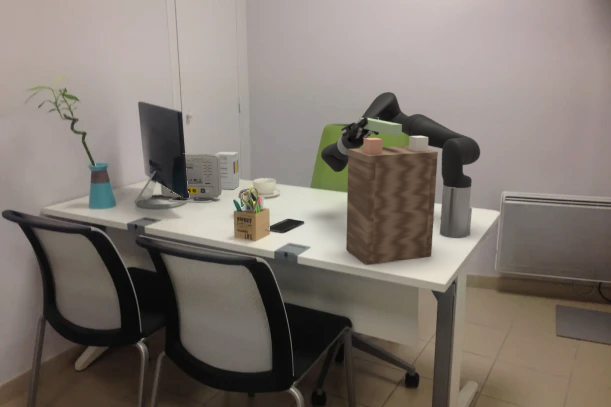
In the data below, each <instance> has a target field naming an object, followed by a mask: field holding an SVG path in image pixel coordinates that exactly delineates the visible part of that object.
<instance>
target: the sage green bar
mask: <svg viewBox="0 0 611 407" xmlns="http://www.w3.org/2000/svg"><path fill="white" fill-rule="evenodd" d="M358 119H359V120H358V121H359V122H360V121H361V120H362V119H363V118H361V117H359V118H358ZM364 129H368V130H372V131H376V132H379V133H380V134H381V133H382V134H385V135H389V136H401V135H402V133H403V132H402V124H397V123H392V122H387V121H381V120H379V119H378V120H376V119H371V118H368V124H367V125H366V126H365V127H364Z"/></svg>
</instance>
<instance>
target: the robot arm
mask: <svg viewBox="0 0 611 407" xmlns="http://www.w3.org/2000/svg"><path fill="white" fill-rule="evenodd" d="M360 118H363V119H362V120H361V121H360V122H359V120H358V121H357V123H356V122H352V123H350V124H348V125H346V126H344V127H343V128H341V129H340V131H341V135H340V137H339V138H338V140H337V141H336V142H334V143H330V144H328V145H327V146H324V148H323V149H322V151H321V152H320V156H321V157H320V158H321V159H322V160H323V161H324V163H325V164H326V165H327V166H328V167H329V168H330V169H331V170H333V172H335V173H340V172H342V171H344V170H345V169H346V167H348V149H359V148H362V146H363V145H364V138H369V137H370V136H371V135H372V134H374V135H375V136H379V135H380V132H376V131H372V130H368V129H364V127H365V126H366V125H367V124H368V118H371V119H376V120H381V121H387V122H392V123H397V124H402V133H403V134H405V135H407V136H408V137H409V136H425V137H428V147H433V148H437V149H442V150H441V178H442V195H441V196H442V197H441V211H440V222H439V223H440V226H439V233H440V235H442V236H444V237H448V238H449V237H450V238H465V237H467V236H469V235H471V227H472V226H471V225H472V215H473V211H472V210H473V208H472V207H470V206H471V193H472V177H471V176H469V175H466V174H465V173H464V171H463V170H464V169H463V168H464V166H468V165H472V164H473V163H476V162H477V161H478V160H479V158H480V156H481V149H480V145H479V144H478V142H477V141H476V140H475V139H473V138H472V137H470V136H467V135H464V134H461V133H459V132H456V131H454V130H452V129H450V128H448V127H446V126H444V125H442V124H440V123H439V122H437V121H435V120H433V119H432V118H430V117H428V116H426V115H425V114H422V113H414V114H412V115H407V114H405V113H404V112H403V111H402V110H401V107H400V104H399V100H398V98H397V96H396V94H395V93H394V92H390V91H387V92H382V93H380V94H379V95H377V96H376V98H374V100H373V101H372V102H371V103H370V104H369V106H368V108H367V109H366V110H365V112H364V113H363V114H362V116H361V117H360Z"/></svg>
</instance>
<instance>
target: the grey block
mask: <svg viewBox="0 0 611 407" xmlns="http://www.w3.org/2000/svg"><path fill="white" fill-rule="evenodd" d="M408 138H409V140H408V146H409V150H412V151H428V150H429V146H428V137H425V136H408Z"/></svg>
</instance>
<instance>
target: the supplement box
mask: <svg viewBox="0 0 611 407" xmlns="http://www.w3.org/2000/svg"><path fill="white" fill-rule="evenodd" d="M216 154H217V155H219V156H220V165H221V190H229V189H234V190H235V189H237V188H238V187H240V170H239V169H240V167H239V166H240V162H239V152H238V151H219V152H217V153H216ZM236 187H237V188H236Z"/></svg>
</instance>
